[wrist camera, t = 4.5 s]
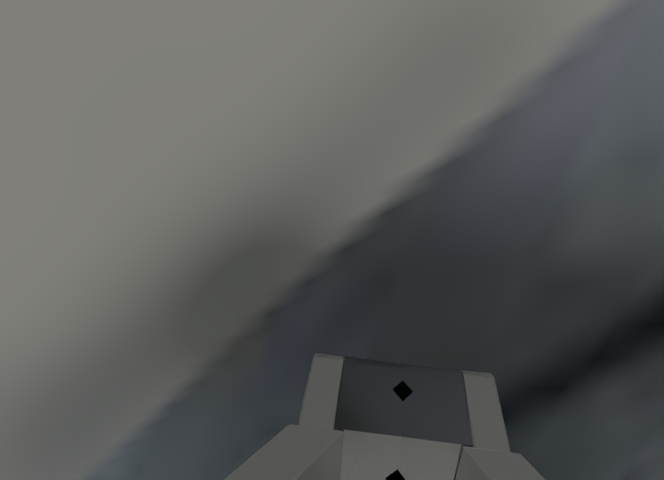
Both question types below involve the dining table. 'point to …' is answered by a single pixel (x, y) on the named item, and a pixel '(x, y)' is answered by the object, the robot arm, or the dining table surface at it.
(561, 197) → the dining table surface
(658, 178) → the dining table surface
